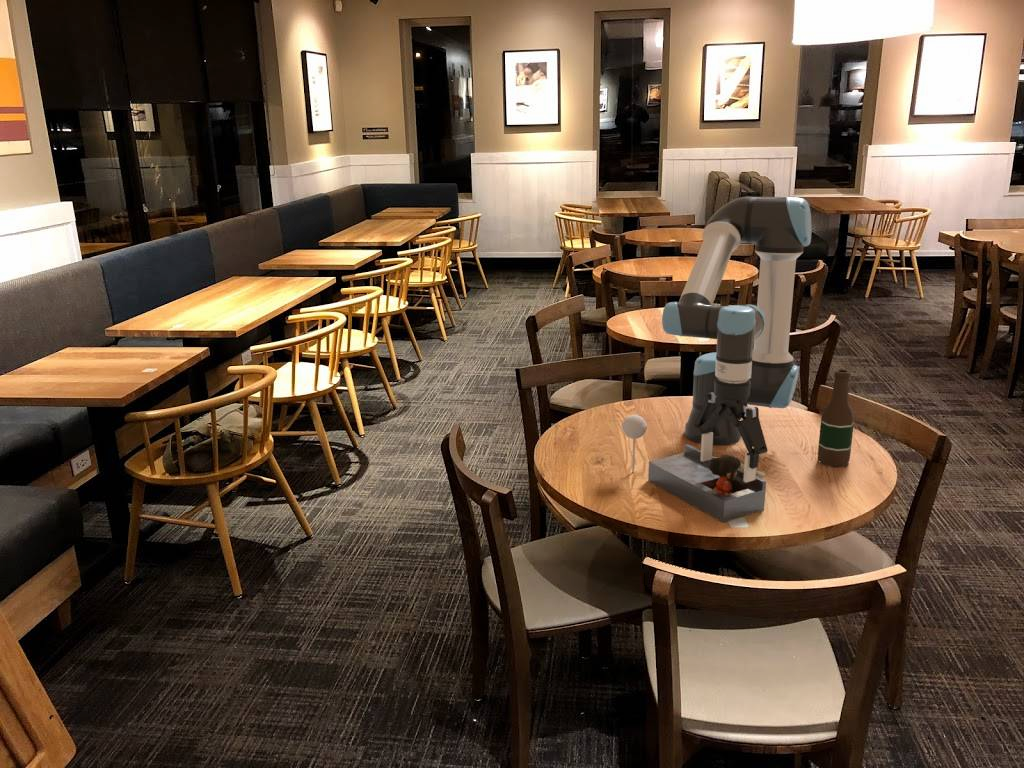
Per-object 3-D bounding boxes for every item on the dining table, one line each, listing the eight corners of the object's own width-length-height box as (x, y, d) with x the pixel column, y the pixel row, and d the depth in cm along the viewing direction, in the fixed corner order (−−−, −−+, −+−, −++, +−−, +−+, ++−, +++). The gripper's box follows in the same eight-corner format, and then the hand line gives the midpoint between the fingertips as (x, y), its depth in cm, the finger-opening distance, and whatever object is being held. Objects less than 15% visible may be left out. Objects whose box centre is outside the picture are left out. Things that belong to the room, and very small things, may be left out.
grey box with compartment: (648, 480, 198) (649, 453, 196) (686, 470, 203) (687, 444, 201) (723, 522, 176) (725, 492, 174) (764, 509, 181) (766, 480, 179)
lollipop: (647, 469, 204) (649, 412, 200) (643, 478, 199) (645, 420, 195) (623, 466, 206) (624, 410, 202) (618, 475, 201) (619, 418, 197)
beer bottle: (852, 468, 202) (862, 376, 195) (819, 466, 204) (828, 374, 197) (846, 456, 209) (856, 367, 202) (814, 455, 211) (823, 366, 204)
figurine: (723, 513, 180) (726, 463, 176) (704, 504, 184) (707, 455, 181) (742, 506, 183) (746, 456, 180) (723, 497, 188) (726, 449, 184)
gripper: (680, 367, 184) (677, 455, 190) (762, 396, 163) (755, 494, 169) (706, 362, 187) (701, 448, 193) (790, 390, 166) (781, 486, 172)
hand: (726, 470), depth 181 cm, fingers open, 13 cm apart
